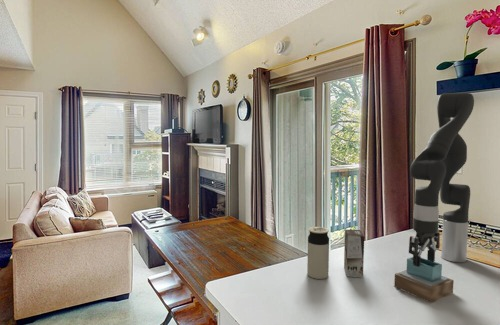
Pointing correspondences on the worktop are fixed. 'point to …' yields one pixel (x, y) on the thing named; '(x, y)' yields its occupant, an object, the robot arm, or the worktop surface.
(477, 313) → the worktop surface
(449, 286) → the stand
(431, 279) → the box
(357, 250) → the coffee box
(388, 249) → the worktop surface
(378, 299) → the worktop surface
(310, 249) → the travel mug
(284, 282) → the worktop surface
